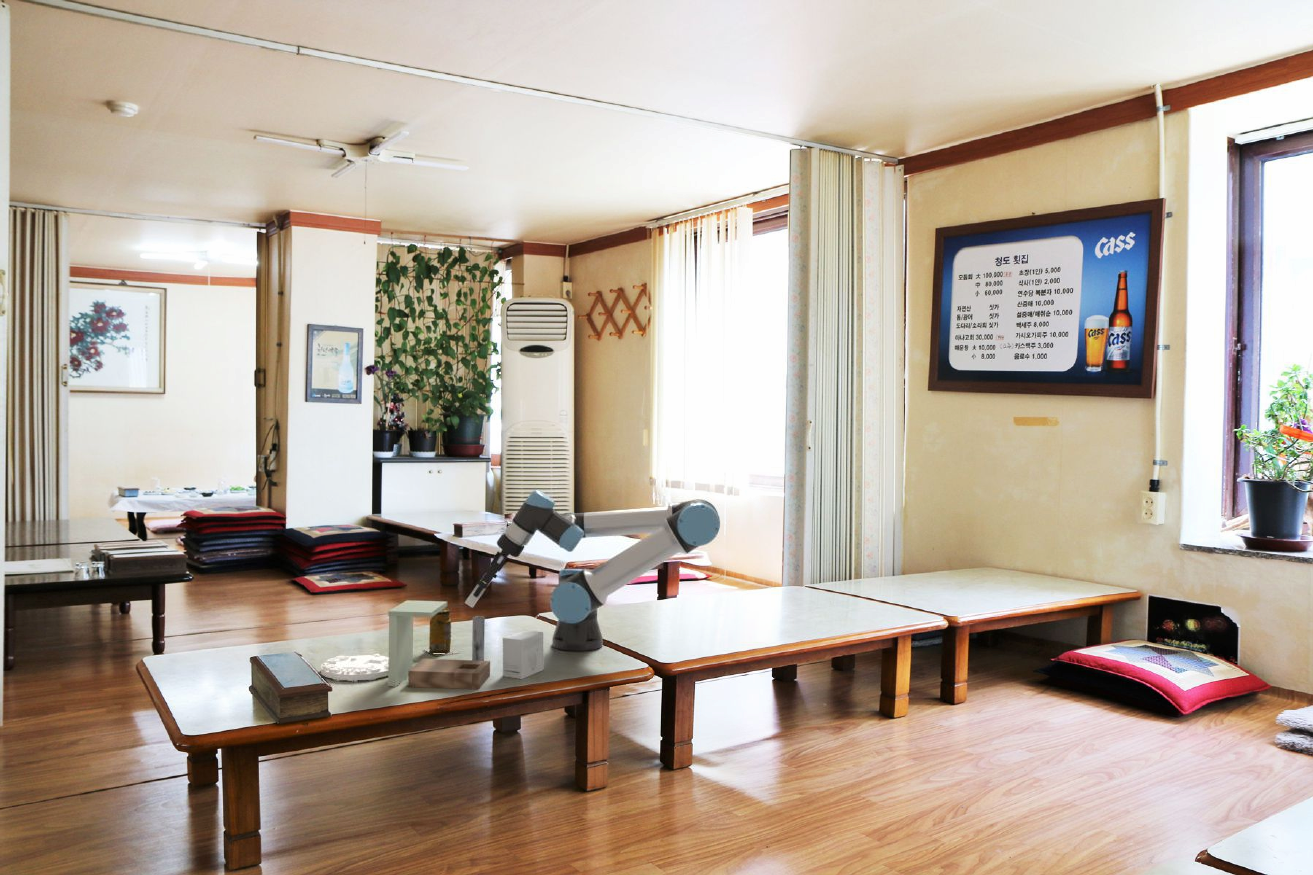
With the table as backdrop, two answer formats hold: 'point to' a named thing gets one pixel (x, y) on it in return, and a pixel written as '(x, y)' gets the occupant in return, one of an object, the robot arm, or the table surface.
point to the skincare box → (523, 654)
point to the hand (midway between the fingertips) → (472, 599)
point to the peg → (478, 638)
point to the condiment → (440, 633)
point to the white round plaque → (356, 667)
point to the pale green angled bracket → (405, 635)
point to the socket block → (449, 673)
